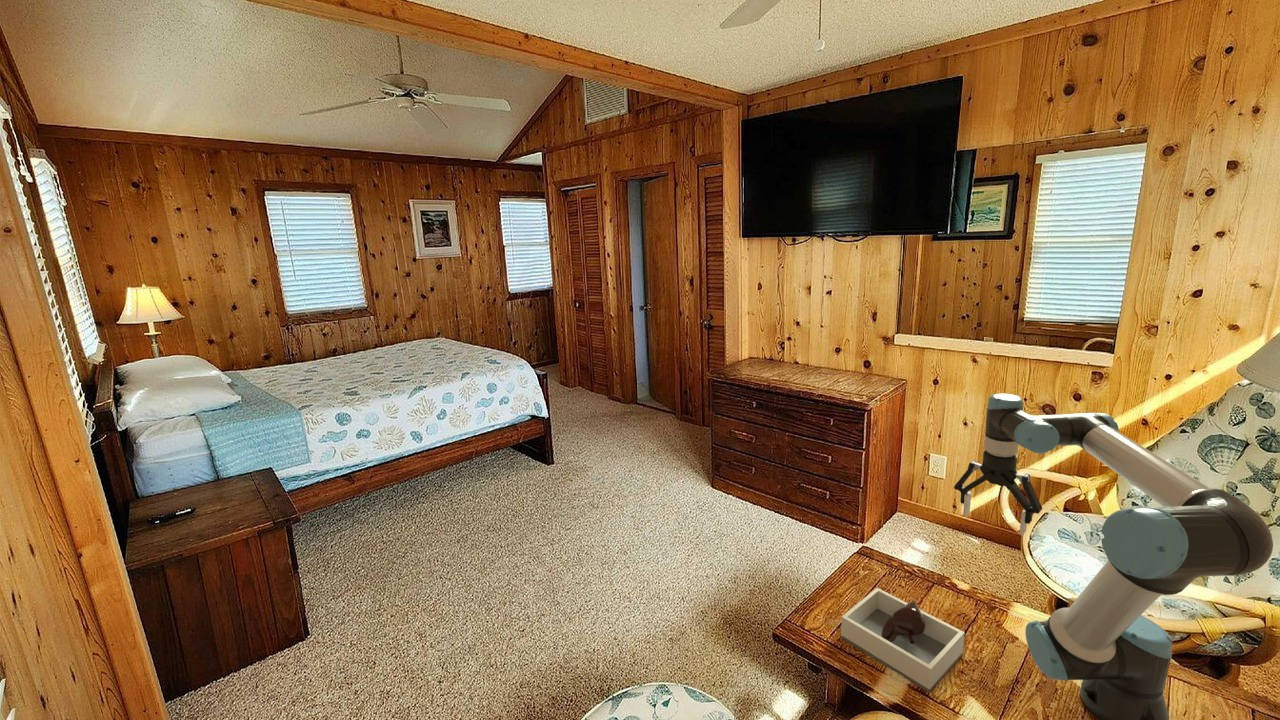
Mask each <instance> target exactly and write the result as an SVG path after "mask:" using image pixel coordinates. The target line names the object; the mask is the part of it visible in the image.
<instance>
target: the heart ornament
mask: <svg viewBox="0 0 1280 720" xmlns="http://www.w3.org/2000/svg"><path fill="white" fill-rule="evenodd" d="M907 603H908V604H906V605H905V606H903V607H902V608H900V609H899V610H897V611H896V612H894V613H893V615H892V617H890V618H889V619H888V620H887V622H886V623H885V625H884V628H883V630H882V638H884V639H886V640H888V641H889V642H891V643H892V642H893V641H894V640H895V639H896V637H897V636H898V635H908V636H909V640H910V643H911V644H913V643H914V641H913V637H912V636H915V635H920V634H922V633H923V632H924V630H925V620H924V618H923V615H922V613H921V611H920V610H921V609H920V608H919V607H918V603H917V602H916V601H915V600H910V602H907ZM919 609H920V610H919Z"/></svg>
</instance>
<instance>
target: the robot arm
mask: <svg viewBox="0 0 1280 720" xmlns="http://www.w3.org/2000/svg"><path fill="white" fill-rule="evenodd" d="M1023 409H1024V401H1023V399H1022V397H1020V396H1018V395H1015V394H1010V393H995V394H992V395H990V396H989V397H988V403H987V407H986V417H985V433H984V443H983V449H984V450H983V454H982V463H981V464H980V463H979V462H977V461H976V460H975V459H974V460H973V459H972V461H970V462H969V464H968V467H967V470H966V471H965V472H964V473H963V474H962V476H961V477H960V478H959V480H958V481H957V482H956V483H955V485H954V486H953V489H954V490H956V491H959V492H960V500H959V501H960V504H963V509H962V510H963V512H962V517H965V518H966V517H967V516H968V515H969V514H970V512H971V500H972V492H971V490H973V489H974V488H976V487H978V486H979V485H980V484H983V483H984V482H985V481H986V482H988V483H989V484H993V485H997V486H999V487H1005V488H1006V490H1008V491H1010V493H1011V494H1012V496H1013V497H1014V498H1015V499H1016V501H1017V502H1018V504H1019V505H1020V506H1021V507H1022V509H1023V510H1022V512H1021V516H1020V525H1019V533H1018V534H1019V535H1021V536H1023V535H1024V534H1025V533H1026V532H1027V528H1028V527H1027V526H1028V525H1030V524H1031V523H1032V521H1033V517H1034V516H1033V514H1040V513H1041V511H1042V510H1043V506H1042V505H1041V501H1040V499H1039V498H1038V496H1037V493H1036V492H1035V488H1034V487H1033V485H1032V483H1031V474H1029V473H1025V474H1022V473H1018V472H1017V464H1018V463H1017V462H1018V455H1017V454H1018V453H1019V446H1020V447H1022V448H1024V449H1027V450H1029V451H1031V452H1033V453H1035V454H1046V453H1048V452H1050V451H1052V450H1054V449H1056V447H1058V446H1059V447H1060V446H1061V447H1063V446H1064V447H1065V446H1078V447H1080V448H1081V449H1082V450H1084V451H1085V452H1087V453H1088V454H1089V455H1091V456H1092V457H1094V459H1097V460H1098V461H1100V462H1101V463H1102V464H1103V465H1105V466H1106V467H1108V468H1109V469H1111V471H1113V472H1115V473H1116V474H1118V475H1119V476H1120V477H1121V478H1123V480H1125V481H1127V482H1129V483H1130V484H1131V485H1133V486H1134V487H1135V488H1137V489H1138V490H1140V491H1141V492H1142V493H1144V494H1145V495H1147V496H1148V497H1149V498H1151V499H1152V500H1153V501H1155V502H1156V503H1158V504H1159V505H1160V506H1157V507H1156V506H1148V505H1147V506H1146V505H1145V506H1143V505H1142V506H1135V507H1130V508H1122V509H1119V510H1116V511H1115V512H1114V511H1113V513H1111V514H1109V516H1108V517H1107V518H1106V519H1105V521H1104V522H1103V525H1102V528H1101V535H1103V537H1101V539H1100V541H1101V546H1102V548H1103V552H1104V554H1105V556H1106V558H1107V561H1106V562H1105V563H1104V565H1102V567H1101V568H1100V570H1099V571H1098V572H1097V573H1096V574H1095V575H1094V577H1093V578H1092V579H1091V580H1090V581H1089V583H1088V584H1087V586H1086V587H1085V588H1084V589H1083V590H1082V591H1081V593H1080V594H1079V595H1078V596H1077V598H1076V599H1075V600H1074V602H1072V603H1071V605H1070V606H1069V607H1061V608H1058V609H1057V610H1055V611H1053V612H1052V613H1051V615H1050V616H1049V617H1048V618H1047V620H1044V621H1039V620H1034V621H1029V622H1028V623H1027V624H1026V626H1025V640H1026V644H1027V648H1028V650H1029V653H1030V655H1031V658H1032V659H1033V661H1034V663H1035V665H1036V667H1038V669H1039V670H1040V671H1041V672H1042V673H1043V675H1045V676H1046V677H1047V678H1049V679H1051V680H1054V681H1055V680H1056V681H1065V682H1068V681H1081V683H1080V690H1079V695H1080V699H1081V700H1082V702H1083V704H1084V705H1085V707H1086V708H1087V709H1088V711H1090V712H1091V713H1092V714H1093V715H1094V716H1095V717H1096V718H1098V719H1099V720H1170V715H1169V710H1168V707H1167V703H1166V700H1165V696H1164V690H1165V687H1166V682H1167V677H1168V672H1169V668H1170V664H1171V659H1172V658H1173V653H1172V650H1173V641H1172V638H1171V637H1170V635H1169V634H1168V633H1167V631H1166V630H1165V629H1164V628H1163V627H1161V626H1160V625H1159V624H1157V623H1156V622H1154V621H1153V620H1152V619H1149V618H1147V617H1146V616H1143V615H1142V614H1144V613H1145V611H1147V610H1148V609H1149V607H1151V606H1152V605H1153V603H1155V602H1156V600H1158V599H1159V597H1161V596H1174V595H1178V594H1179V593H1181V592H1183V591H1184V590H1185V589H1186V588H1187V587H1188V586H1189V585H1190V584H1191V583H1193V581H1195V579H1198V578H1201V577H1221V576H1222V577H1223V576H1231V577H1232V576H1242V575H1246V574H1250V573H1253V572H1255V571H1257V570H1259V569H1260V568H1262V567H1263V566H1264V565H1265V564H1266V563H1268V561H1269V560H1270V557H1271V556H1272V553H1273V550H1274V549H1273V548H1274V539H1273V535H1272V533H1271V530H1270V529H1269V527H1268V524H1266V522H1265V521H1264V519H1263V518H1262V517H1261V516H1260V515H1259V514H1258V513H1257V512H1256V511H1255V510H1254V509H1253V508H1252V507H1250V506H1249V505H1247V503H1245V502H1243V501H1242V500H1240V499H1238V498H1237V497H1236V496H1235V495H1232V494H1231V493H1229V492H1227V491H1226V490H1224V489H1220V488H1210V487H1209V486H1207V485H1206V484H1204V483H1202V482H1201V481H1199V480H1198V479H1196V478H1194V477H1192V476H1191V475H1190V474H1187V473H1186V472H1185V471H1183V470H1181V469H1180V468H1178V467H1177V466H1175V465H1174V464H1172V463H1170V462H1168V460H1167V461H1166V460H1165V459H1164V458H1162V457H1160V456H1159V455H1157V454H1156V453H1154V452H1152V451H1150V450H1149V449H1148V448H1146V447H1144V446H1143V445H1141V444H1140V443H1138V442H1136V441H1134V440H1133V439H1131V438H1129V437H1128V436H1126V435H1125V434H1123V433H1122V432H1121V431H1119V430H1120V427H1119V425H1118V423H1117V422H1116V421H1115V418H1114V417H1113V416H1112V415H1110V414H1107V413H1103V412H1091V411H1090V412H1089V411H1088V412H1084V413H1081V412H1080V413H1063V414H1058V413H1057V414H1043V415H1039V414H1038V415H1033V414H1031V413H1029V412H1027V411H1025V410H1023ZM977 470H980V472H981V473H982V475H981V476H979V477H978V478H977V479H974V481H972V482H970V483H969V484H967V485H965V486H964V484H965V482H966V481H967V480H969V478H970V476H971V475H972V474H973V472H974V471H976V472H977ZM1016 479H1018V481H1019V483H1020V484H1021V485H1022V488H1023V490H1024V492H1025V494H1026V496H1027V497H1026V496H1025V494H1024V493H1023V492H1022V490H1021V489H1020V487H1019V486H1018V484H1017V482H1016Z"/></svg>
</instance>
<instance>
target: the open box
mask: <svg viewBox="0 0 1280 720" xmlns="http://www.w3.org/2000/svg"><path fill="white" fill-rule="evenodd" d="M908 603H909V602H906V601H904V600H903V599H900V598H899V597H896V596H894V595H893V594H890V593H889V592H886V591H884V590H882V589H880V588H879V587H876V588H875V589H873V590H872V591H871V592H870V593H869V594H868V595H866V596H865V597H864V598H862V599H861V600H860V601H859V602H857V603H856V604H855V605H854V606H852V608H850V609H849V610H848V611H847V612H845V613H844V614H843V615H842V616H841V626H840V627H841V628H840V630H841V631H840V632H841V633H840V638H841V640H843V641H844V642H847V643H848V644H850V645H852V646H853V647H855V648H856V649H858V650H859V651H861V652H862V653H864V654H866V655H868V656H869V657H871V658H873V660H876V661H877V662H879V663H880V664H882V665H884V666H885V667H887V668H888V669H890V670H892V671H893V672H895V673H897V674H898V675H900V676H901V677H903V678H905V679H906V680H908V681H910V682H911V683H912V684H914V685H916V686H918V687H919V688H920V689H922V690H924V691H925V692H927V693H928V694H930V693H931V692H932V691H933V689H934V688H935V687H936V686H937V685H938V684H939V682H940V681H941V680H942V679H943V678H944V677H945V676H946V675H947V674H948V672H950V670H951V669H952V668H953V667H954V666H955V664H956V663H957V662H958V661H959V660H960V659H961V657H962V656H963V654H964V645H965V644H964V642H965V635H966V633H965V632H964V631H962V630H961V629H959V628H956V627H955V626H953V625H951V624H949V623H948V622H945V621H943V620H941V619H940V618H937V617H935V616H933V615H932V614H930V613H928V612H926V611H924V610H923V609H920V608H919V610H920V611H921V613H922V615H923V618H924V620H925V630H924V632H923V633H922V634H920V635H915V636H912V637H913V641H914V643H913V644H911V643H910V640H909V636H908V635H898V636H897V637H896V639H895V640H894V641H893V642H892V643H891V642H889V641H888V640H886V639H884V638H882V630H883V628H884V625H885V623H886V622H887V620H888V619H889V618H890V617H892V615H893V613H894V612H896V611H897V610H899V609H900V608H902V607H903V606H905V605H906V604H908Z"/></svg>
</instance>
